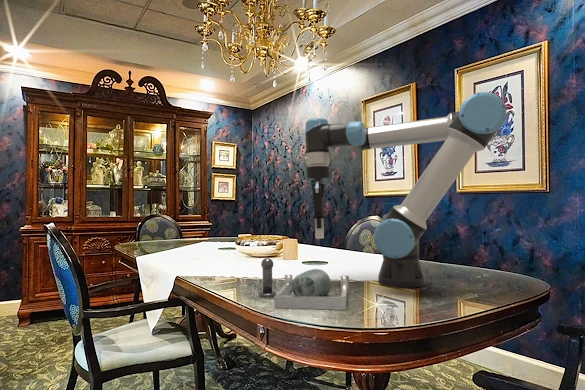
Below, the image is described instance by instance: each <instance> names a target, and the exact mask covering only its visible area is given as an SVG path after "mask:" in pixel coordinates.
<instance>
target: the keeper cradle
mask: <svg viewBox="0 0 585 390" xmlns="http://www.w3.org/2000/svg"><path fill="white" fill-rule="evenodd" d="M292 282H293V275H292V274H285V275H284V284H283V285H282V287H281V288H280V289H279V290H278V291H277V292H276V295H275V296H274V297H273V298H274V299H273V301H274V305H273V307H274V308H275V309H294V310H296V309H298V310H299V309H301V310H328V309H334V310H335V311H337V310H339V311H346V310H347V300H348V299H347V297H348V294H350V283H349V282H350V277H349V275H341V276H340V294H341V295H340V296H326V295H324V296H295V295H289V294H291V293H293V290H292Z"/></svg>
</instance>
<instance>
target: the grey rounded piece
mask: <svg viewBox="0 0 585 390" xmlns="http://www.w3.org/2000/svg"><path fill="white" fill-rule="evenodd" d="M331 286H332V281H331V278H330V276H329V274H328V273H327V272H326V271H325V270H322V269H319V268H315V269H314V268H313V269H308V270H305V271H304V272H301V273H300V274H297V275H296V276H294V277H293V278H292V290H293V292H292V293H293V294H294V295H293V296H326V295H327V294H329V293H330V291H331V290H332V289H331V288H332V287H331Z"/></svg>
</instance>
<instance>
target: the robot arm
mask: <svg viewBox="0 0 585 390" xmlns="http://www.w3.org/2000/svg"><path fill="white" fill-rule="evenodd" d="M507 112H508V111H507V106H506V104H505V102H504V101H503V99H502V98H501V97H500V96H499V95H497V94H495V93H493V92H488V91H487V92H486V91H482V92H477V93H473V94H471V95H470V96H468V97H467V98H466V99H465V100H464V101H463V102H462V103H461V105H460V107H459V111H455V112H454V111H453V112H450V113H449V114H447V115H446V116H443V117H442V116H441V117H434V118H428V119H420V120H413V121H407V122H405V121H404V122H398V123H397V122H396V123H390V124H383V125H376V126H370V127H366V126H365V124H364V122H363V121H352V120H351V121H348V122H340V123H332V124H330V123H329V121H328V119H326V118H322V117H320V118H319V117H318V118H317V117H315V118H310V119H308V120H307V121H306V122H305V132H304V135H305V156H304V160H306V161H305V163H306V166H307V167H306V172H305V173H306V178H307V179H308V180H313V183H311V189H312V197H313V209H314V213H313V216H312V219H314V227H315V228H314V229H315V231H314V233H315V239H317V240H320V239H324V238H325V225H324V219H326V215H325V213H324V197H325V189H326V188H325V187H326V185H325V184H324V183H323V179H329V178H330V167H329V165H330V151H329V149H330V148H340V147H341V148H343V147H345V148H346V149H348V150H350V151H351V152H353V153H361V152H364V151H367V150H368V151H369V150H372V149H382V148H383V149H384V148H390V147H391V148H392V147H393V148H394V147H399V146H409V145H416V144H417V145H418V144H428V143H435V142H443V141H444V143H442V145H441V147H440V148H439V149H438V151H437V152H436V154H435V155H434V157H433V158H432V160H431V161H430V163H429V164H428V165H427V167H426V168H425V169H424V171H423V172H422V173H421V175H420V177H419V178H418V179H417V181H416V182H415V183H414V185H413V187H412V188H411V190H410V191H409V192H408V194H407V195H406V197H405V198H404V199H403V201H402V202H401V204H399V205H393V207H391V209H390V210H389V212H388V213H386V214H384V215H383V216H382V221H380V223H379V224H378V225H377V226H376V228H375V229H374V235H373V243H374V245H375V248H376V250H378V252H379V253H381V254H382V255H383V256H382V257H383V258H382V259H383V260H382V263H381V267H380V270H379V272H378V273H379V274H378V276H377V277H378V278H377V279H378V280H377V281H378V284H380V285H383V286H387V287H391V288H392V287H393V288H408V289H409V288H419V287H424V286H425V285H426V276H425V274H424V271H423V268H422V264H421V261H420V238H421V237H422V236H423V235H424V233H425V232H426V230H427V229H428V227H427V220H428V218H429V217H430V216H431V214H432V213H433V211H435V209H436V208H437V206H438V205H439V204H440V202H441V200H442V199H443V197H444V196H445V195H446V193H447V192H448V191H449V189H450V188H451V187H452V185H453V184H454V182H455V181H456V180H457V178H458V177H459V175H460V174H461V172H462V171H463V170H464V168H465V167H466V166H467V164H468V163H469V162H470V160H471V158H473V156H474V154H475V153H476V152H481V151H484V150H485V149H486V147H487V146H488V145H489V143H490V142H491V141H492V139H493V138H494V136H495V135H496V134H497V133H498V131H499V130H500V129H501V127H503V125H504V124H505V123H506V119H507V116H508V115H507V114H508V113H507Z"/></svg>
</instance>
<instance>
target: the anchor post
mask: <svg viewBox="0 0 585 390" xmlns="http://www.w3.org/2000/svg"><path fill="white" fill-rule="evenodd" d="M260 264H261V265H260V266H261V268H262V290H261V291H259V292H258V296H259V297H261V298H274V296H275V295H276V294H277V292H276V291H275V290H273V267H274V260H273V259H271V258H269V257H265V258H263V259H262V261H261V263H260Z"/></svg>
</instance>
